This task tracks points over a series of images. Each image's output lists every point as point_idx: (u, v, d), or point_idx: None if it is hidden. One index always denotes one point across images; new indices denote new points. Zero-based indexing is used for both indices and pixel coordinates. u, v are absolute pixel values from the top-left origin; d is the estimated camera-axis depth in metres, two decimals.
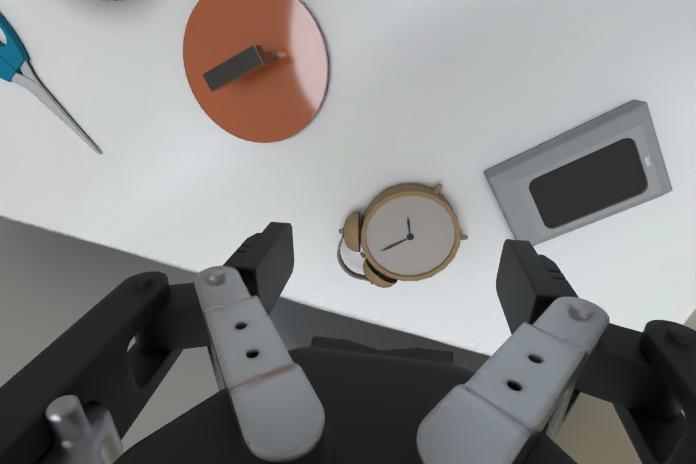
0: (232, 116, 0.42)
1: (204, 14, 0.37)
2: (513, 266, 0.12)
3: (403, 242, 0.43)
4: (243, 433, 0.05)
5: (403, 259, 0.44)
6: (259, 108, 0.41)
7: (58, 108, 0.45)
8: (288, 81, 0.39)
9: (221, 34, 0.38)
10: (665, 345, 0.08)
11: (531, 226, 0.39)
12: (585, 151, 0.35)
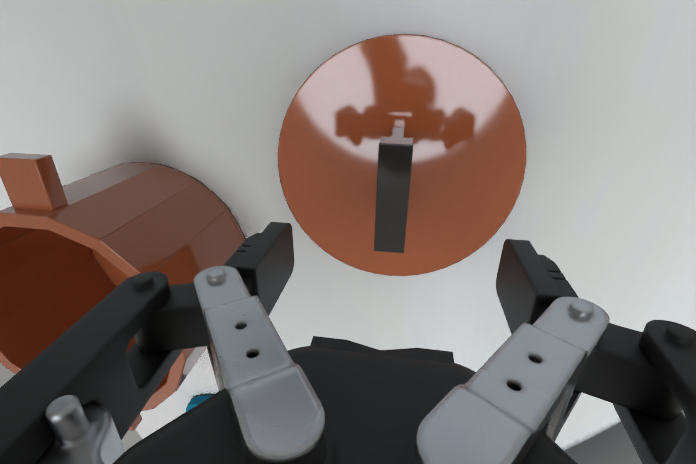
0: (438, 243, 0.26)
1: (301, 198, 0.26)
2: (513, 266, 0.12)
3: None
4: (243, 433, 0.05)
5: None
6: (453, 198, 0.24)
7: None
8: (444, 130, 0.22)
9: (333, 191, 0.25)
10: (665, 345, 0.08)
11: None
12: None
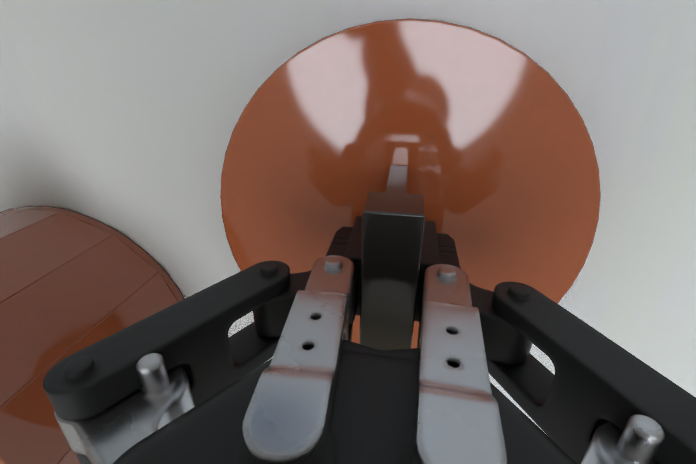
0: None
1: (258, 262, 0.18)
2: None
3: None
4: (243, 433, 0.05)
5: None
6: (481, 269, 0.16)
7: None
8: (470, 170, 0.14)
9: (304, 254, 0.17)
10: (503, 300, 0.09)
11: None
12: None
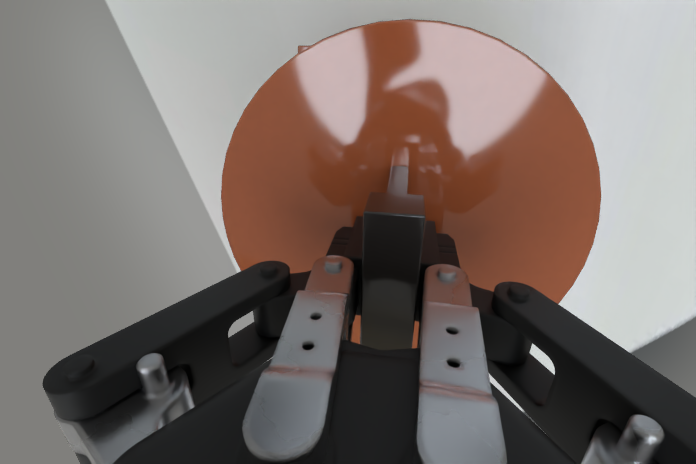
0: None
1: None
2: None
3: None
4: (243, 433, 0.05)
5: None
6: (482, 269, 0.16)
7: None
8: (471, 171, 0.14)
9: (304, 254, 0.17)
10: (503, 300, 0.09)
11: None
12: None
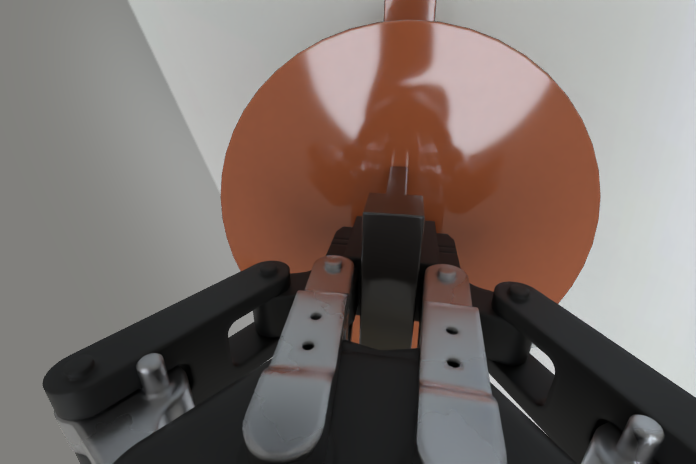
0: None
1: None
2: None
3: None
4: (243, 433, 0.05)
5: None
6: (481, 269, 0.16)
7: None
8: (470, 171, 0.14)
9: (304, 255, 0.17)
10: (503, 300, 0.09)
11: None
12: None
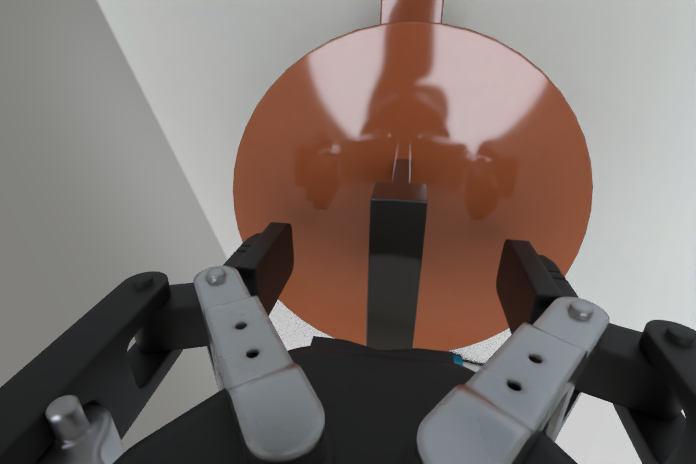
0: (458, 315, 0.18)
1: None
2: (513, 266, 0.12)
3: None
4: (243, 433, 0.05)
5: None
6: (481, 258, 0.17)
7: None
8: (470, 164, 0.15)
9: (312, 245, 0.18)
10: (665, 345, 0.08)
11: None
12: None
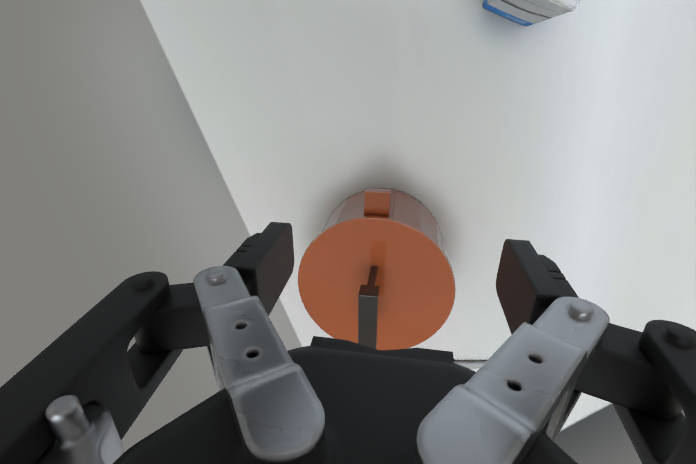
0: (403, 333, 0.39)
1: (313, 303, 0.39)
2: (513, 266, 0.12)
3: None
4: (243, 433, 0.05)
5: None
6: (411, 307, 0.37)
7: (464, 364, 0.52)
8: (403, 269, 0.36)
9: (334, 299, 0.39)
10: (665, 345, 0.08)
11: None
12: None
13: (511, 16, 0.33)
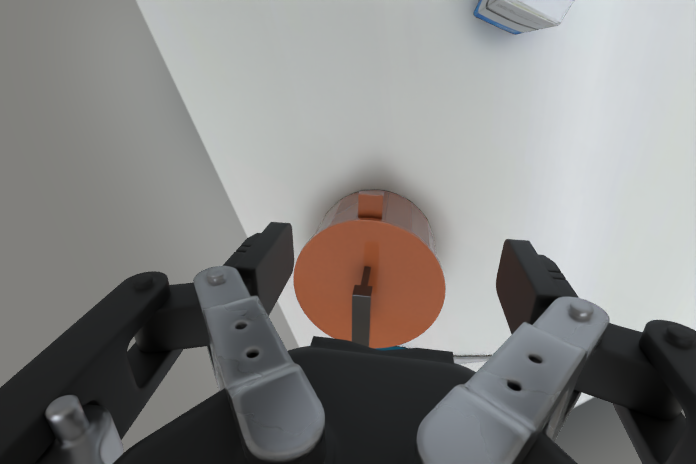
0: (395, 330, 0.40)
1: (308, 301, 0.40)
2: (513, 266, 0.12)
3: None
4: (243, 433, 0.05)
5: None
6: (403, 305, 0.39)
7: (455, 359, 0.53)
8: (395, 269, 0.37)
9: (328, 298, 0.40)
10: (665, 345, 0.08)
11: None
12: None
13: (501, 25, 0.34)
